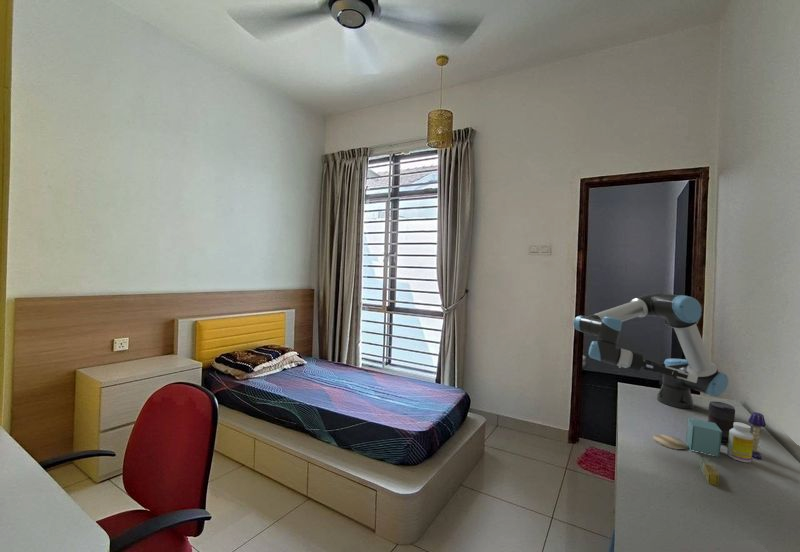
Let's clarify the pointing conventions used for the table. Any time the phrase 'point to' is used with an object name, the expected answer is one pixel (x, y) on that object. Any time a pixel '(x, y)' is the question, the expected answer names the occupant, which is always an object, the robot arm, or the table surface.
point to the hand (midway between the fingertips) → (690, 376)
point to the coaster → (670, 441)
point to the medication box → (709, 471)
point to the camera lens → (722, 418)
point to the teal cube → (703, 436)
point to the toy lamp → (756, 432)
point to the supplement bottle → (740, 442)
